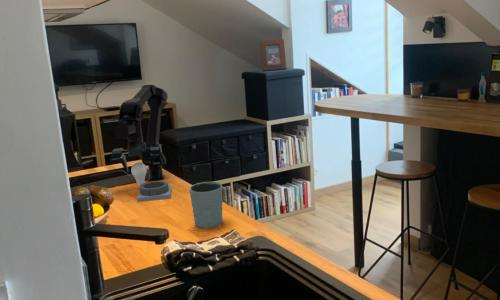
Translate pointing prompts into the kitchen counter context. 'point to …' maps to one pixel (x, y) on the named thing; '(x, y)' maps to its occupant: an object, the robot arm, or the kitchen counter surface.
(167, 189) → the bulb holder
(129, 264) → the kitchen counter surface
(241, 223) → the kitchen counter surface
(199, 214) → the blue-grey cup
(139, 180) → the lightbulb
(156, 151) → the robot arm
